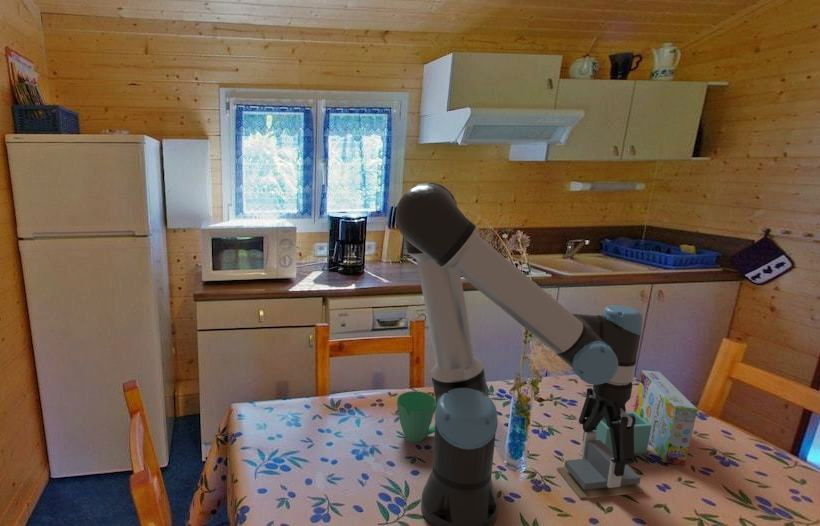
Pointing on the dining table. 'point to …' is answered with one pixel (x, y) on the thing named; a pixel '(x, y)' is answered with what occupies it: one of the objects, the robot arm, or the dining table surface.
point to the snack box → (665, 416)
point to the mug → (416, 414)
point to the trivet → (598, 491)
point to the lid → (597, 467)
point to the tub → (640, 434)
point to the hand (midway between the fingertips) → (599, 471)
